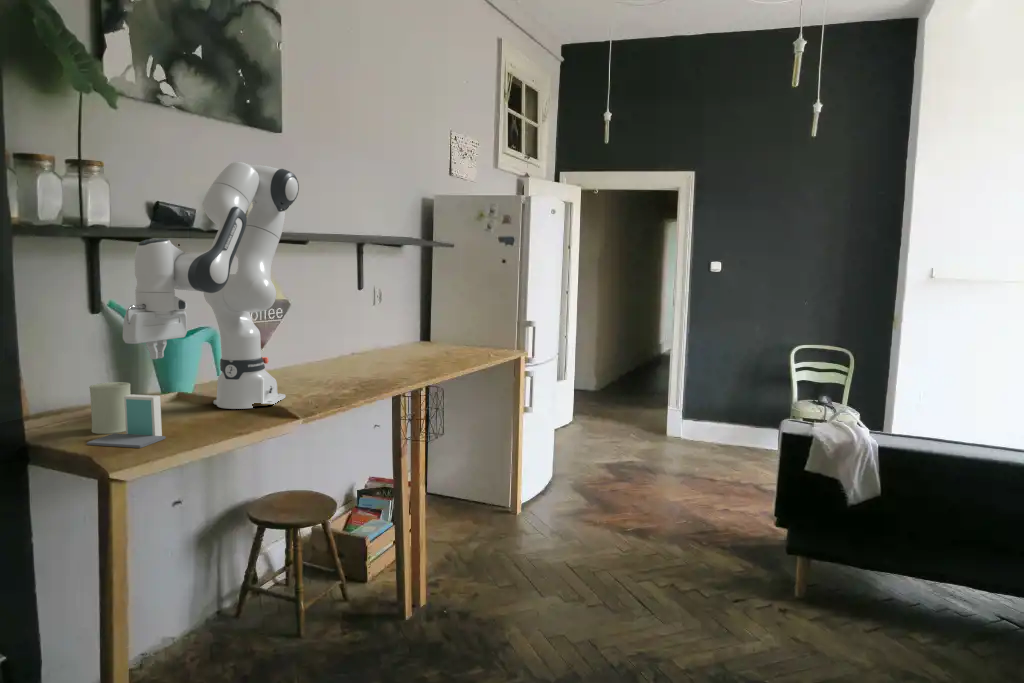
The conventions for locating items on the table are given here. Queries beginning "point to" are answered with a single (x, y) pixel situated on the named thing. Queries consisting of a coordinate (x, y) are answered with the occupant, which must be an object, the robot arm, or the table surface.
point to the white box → (143, 415)
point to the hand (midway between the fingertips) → (156, 358)
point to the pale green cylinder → (108, 407)
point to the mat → (126, 440)
